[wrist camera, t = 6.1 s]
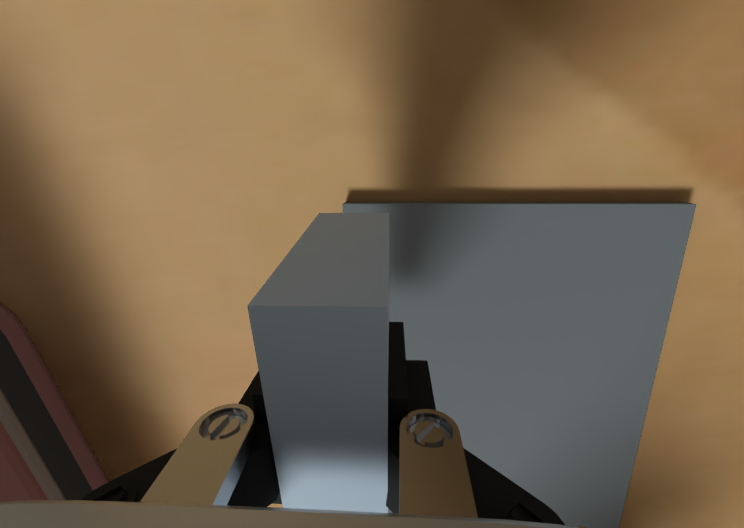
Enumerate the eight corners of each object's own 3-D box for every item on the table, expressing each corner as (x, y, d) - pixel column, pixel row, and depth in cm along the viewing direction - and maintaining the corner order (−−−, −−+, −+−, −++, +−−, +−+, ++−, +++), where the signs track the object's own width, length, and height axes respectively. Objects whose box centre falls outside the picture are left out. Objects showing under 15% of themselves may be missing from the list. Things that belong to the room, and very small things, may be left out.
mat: (345, 202, 19) (342, 204, 18) (683, 202, 17) (696, 204, 17) (354, 513, 25) (353, 524, 24) (607, 535, 23) (613, 547, 23)
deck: (314, 213, 12) (239, 305, 6) (389, 212, 12) (386, 306, 6) (331, 413, 15) (293, 600, 9) (389, 414, 15) (388, 604, 9)
